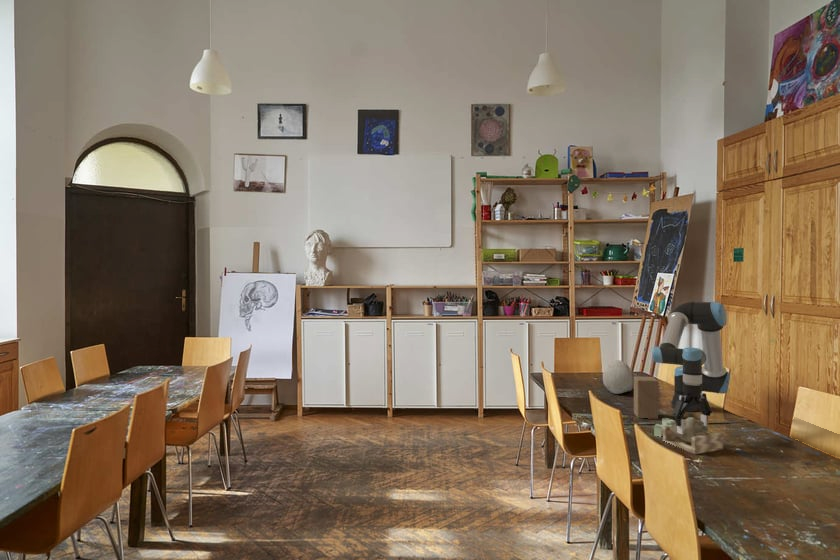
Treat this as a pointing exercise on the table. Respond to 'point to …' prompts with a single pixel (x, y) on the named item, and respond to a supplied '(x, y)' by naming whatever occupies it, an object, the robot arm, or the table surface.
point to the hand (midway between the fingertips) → (692, 431)
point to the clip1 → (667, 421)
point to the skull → (618, 377)
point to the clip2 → (658, 430)
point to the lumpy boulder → (690, 429)
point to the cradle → (695, 441)
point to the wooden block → (646, 397)
